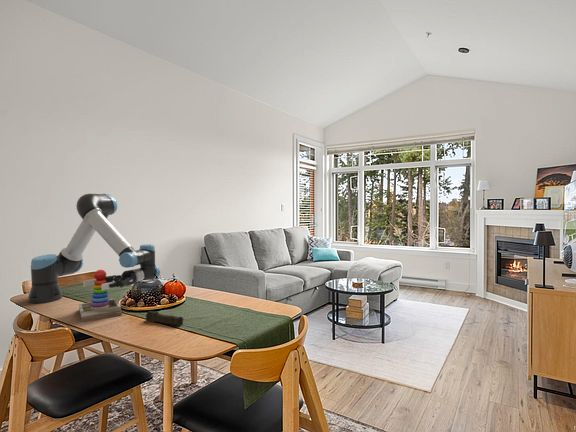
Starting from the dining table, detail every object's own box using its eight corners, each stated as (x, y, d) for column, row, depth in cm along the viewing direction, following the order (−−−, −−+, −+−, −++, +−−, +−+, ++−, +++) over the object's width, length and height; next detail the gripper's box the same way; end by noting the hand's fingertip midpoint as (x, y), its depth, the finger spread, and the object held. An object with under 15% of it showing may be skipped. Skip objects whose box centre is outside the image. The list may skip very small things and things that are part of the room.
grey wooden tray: (79, 310, 172) (78, 302, 171) (115, 304, 180) (115, 297, 180) (81, 321, 155) (81, 313, 155) (121, 315, 164) (121, 307, 163)
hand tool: (184, 325, 151) (183, 314, 151) (177, 328, 147) (177, 317, 147) (151, 319, 159) (151, 308, 159) (144, 321, 156) (144, 311, 155)
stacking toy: (101, 312, 163) (100, 271, 162) (86, 311, 165) (85, 271, 164) (113, 307, 171) (112, 268, 170) (98, 306, 172) (97, 268, 172)
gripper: (149, 286, 177) (110, 297, 158) (116, 281, 189) (76, 290, 170) (148, 272, 177) (109, 280, 158) (116, 267, 189) (76, 275, 170)
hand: (92, 285), depth 164 cm, fingers open, 13 cm apart
